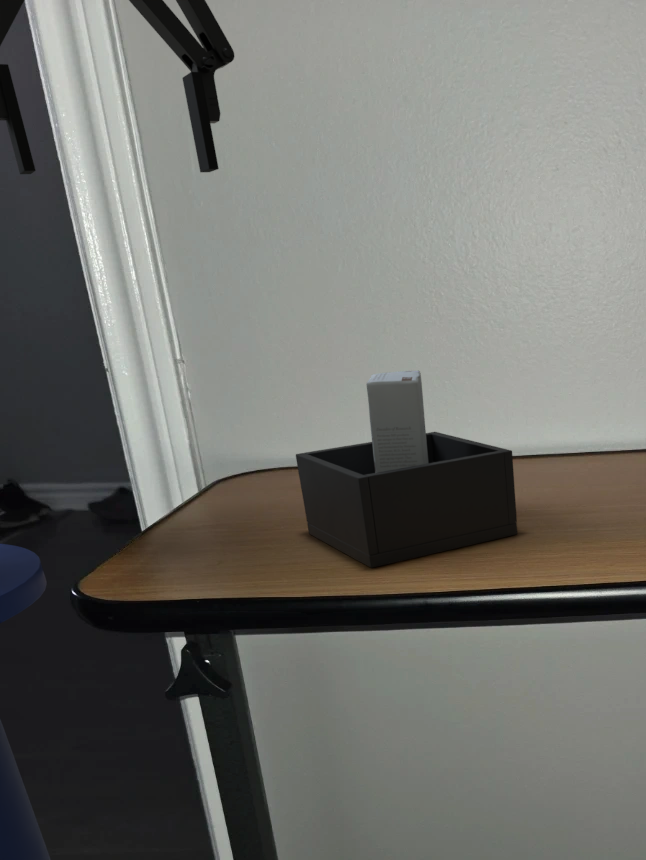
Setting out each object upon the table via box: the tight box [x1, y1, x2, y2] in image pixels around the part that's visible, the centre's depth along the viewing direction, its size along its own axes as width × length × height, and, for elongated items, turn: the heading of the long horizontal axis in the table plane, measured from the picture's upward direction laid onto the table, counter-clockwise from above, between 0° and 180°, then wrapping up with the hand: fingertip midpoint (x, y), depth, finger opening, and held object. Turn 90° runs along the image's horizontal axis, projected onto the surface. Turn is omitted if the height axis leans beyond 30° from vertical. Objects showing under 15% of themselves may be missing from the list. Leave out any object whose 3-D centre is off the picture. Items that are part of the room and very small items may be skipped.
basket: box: [295, 431, 518, 569], centre depth 79 cm, size 14×14×7 cm
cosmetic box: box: [365, 370, 428, 473], centre depth 78 cm, size 6×4×12 cm
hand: (122, 172), depth 73 cm, fingers open, 13 cm apart
